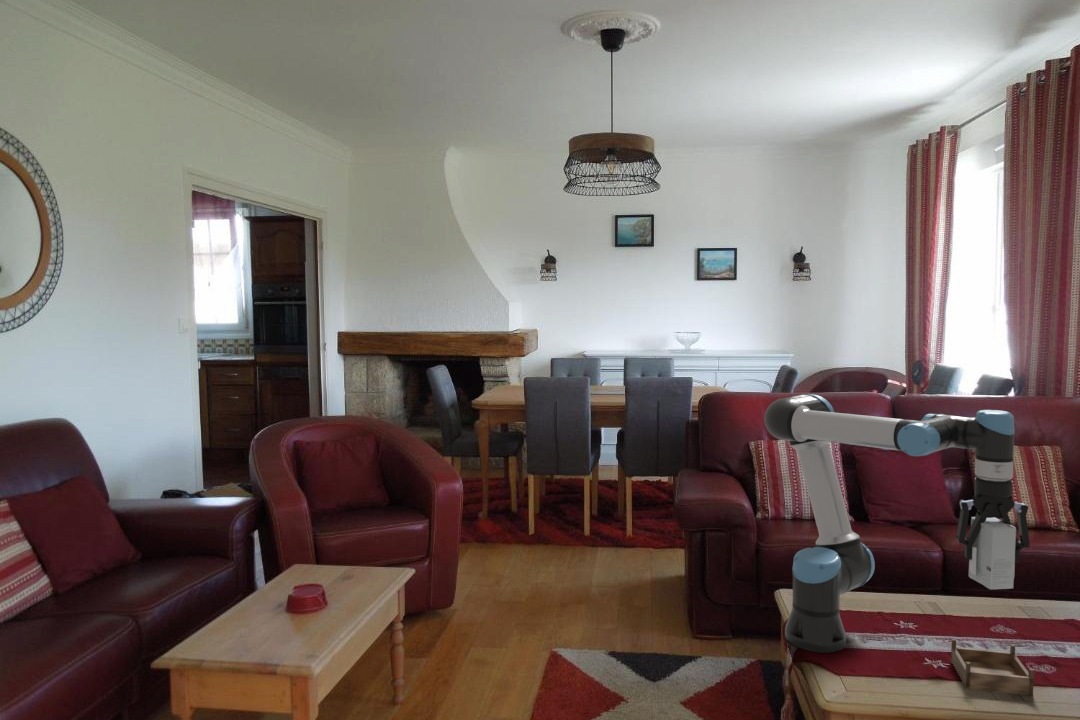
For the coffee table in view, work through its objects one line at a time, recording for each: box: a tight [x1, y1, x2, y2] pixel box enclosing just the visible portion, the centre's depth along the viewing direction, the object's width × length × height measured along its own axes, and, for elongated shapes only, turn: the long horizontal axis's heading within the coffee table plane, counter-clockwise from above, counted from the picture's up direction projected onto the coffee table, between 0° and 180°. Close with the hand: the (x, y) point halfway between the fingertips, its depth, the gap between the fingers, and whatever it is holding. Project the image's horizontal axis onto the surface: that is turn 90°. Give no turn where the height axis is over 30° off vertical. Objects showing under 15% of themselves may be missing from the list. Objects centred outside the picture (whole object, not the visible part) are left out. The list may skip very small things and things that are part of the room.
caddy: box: [950, 638, 1035, 697], centre depth 174 cm, size 14×13×6 cm
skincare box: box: [968, 516, 1017, 590], centre depth 171 cm, size 8×6×15 cm
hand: (991, 574), depth 172 cm, fingers closed on skincare box, 7 cm apart
